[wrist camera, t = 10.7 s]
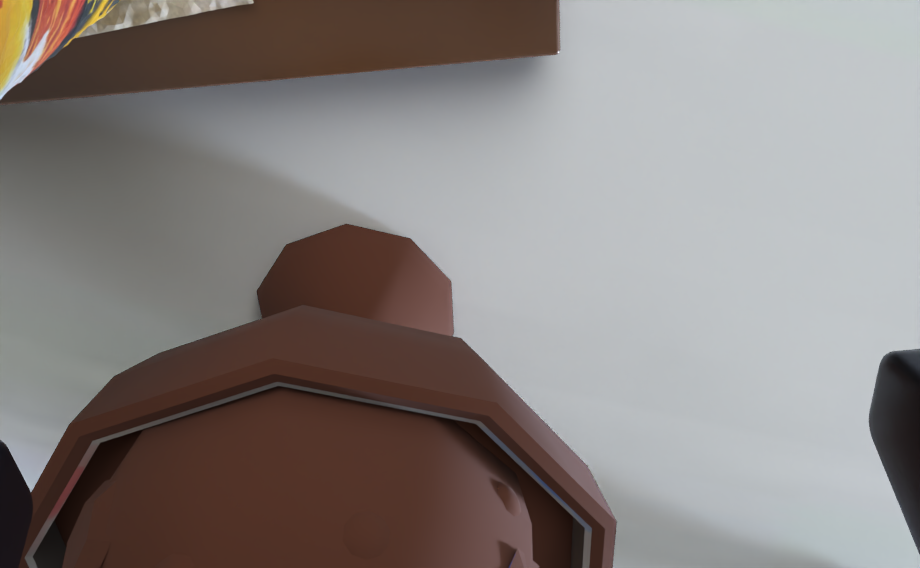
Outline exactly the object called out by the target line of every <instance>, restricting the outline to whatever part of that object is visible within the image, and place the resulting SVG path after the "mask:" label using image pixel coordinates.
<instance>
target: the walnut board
mask: <svg viewBox="0 0 920 568" xmlns="http://www.w3.org/2000/svg"><path fill="white" fill-rule="evenodd" d="M253 2H254V3H252V4H245V5H238V6H232V7H227V8H222V9H216V10H212V11H206V12H201V13H197V14H193V15H189V16H183V17H177V18H172V19H166V20H162V21H157V22H152V23H148V24H143V25H138V26H132V27H128V28H123V29H119V30H114V31H109V32H104V33H99V34H93V35H88V36H84V37H79V38H74V39H72V40H71V42H70V43H69V44H68V45H67V46H65V47H63V48H62V49H61V50H60V51H59V52H58V53H57V54H56V55H55V56H54V57H52V58H50V59H48V60H46V61H45V62H44V63H43V64H42V65H41V66H40V67H39V68H38V70H37V71H35V72H33V73H32V74H30V75H28V76H27V77H26V78H25V79H24V80H23V81H22V82H21V83H18V84H17V85H15V86H14V87H12V88H11V89H10V90H9V91H8V92H7V93H6V94H5V95H4V96H3V97H2V99H1V100H0V105H6V104H17V103H28V102H40V101H51V100H62V99H73V98H84V97H95V96H106V95H117V94H128V93H139V92H150V91H161V90H172V89H183V88H194V87H205V86H216V85H227V84H238V83H249V82H260V81H271V80H282V79H293V78H304V77H315V76H326V75H337V74H349V73H360V72H371V71H382V70H393V69H404V68H415V67H426V66H437V65H448V64H459V63H470V62H481V61H492V60H503V59H514V58H525V57H536V56H547V55H556V54H559V52H560V10H559V0H253Z"/></svg>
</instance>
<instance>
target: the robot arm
mask: <svg viewBox="0 0 920 568" xmlns="http://www.w3.org/2000/svg"><path fill="white" fill-rule="evenodd" d="M869 427H870V432H871V436H872V439H873V442H874V444H875V447H876V449H877V451H878V454H879V456H880V459H881V461H882V464H883V466H884V469H885V471H886V473H887V476H888V478H889V481H890V483H891V486H892V488H893V491H894V493H895V495H896V498H897V500H898V503H899V505H900V508H901V510H902V513H903V515H904V517H905V520H906V522H907V525H908V527H909V530H910V532H911V535H912V537H913V540H914V542H915V544H916V547H917V549H918V552H919V554H920V349H913V350H903V351H893V352H890V353H888V354H886V355H885V356H884V357H883V359H882V360H881V363H880V366H879V370H878V375H877V379H876V384H875V389H874V394H873V398H872V403H871V408H870V413H869ZM32 515H33V500H32V495H31V492H30V490H29V488H28V486H27V484H26V482H25V480H24V478H23V476H22V474H21V472H20V470H19V468H18V467H17V465H16V463H15V461H14V459H13V457H12V455H11V453H10V451H9V449H8V447H7V446H6V444H5V443H3V442H2V441H1V440H0V568H19V564H20V561H21V557H22V553H23V550H24V546H25V542H26V538H27V535H28V531H29V527H30V523H31V520H32Z"/></svg>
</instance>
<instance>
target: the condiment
mask: <svg viewBox="0 0 920 568" xmlns="http://www.w3.org/2000/svg"><path fill="white" fill-rule="evenodd" d="M252 3H254V2H253V0H0V100H1V99H2V97H3V96H4V95H5V94H6V93H7V92H8V91H9V90H10V89H11V88H12V87H14V86H15V85H17V84H18V83H21V82H22V81H23V80H24V79H25V78H26V77H27V76H28V75H30V74H32V73H33V72H35V71H37V70H38V68H39V67H40V66H41V65H42V64H43V63H44V62H45V61H46V60H48V59H50V58H52V57H54V56H55V55H56V54H57V53H58V52H59V51H60V50H61V49H62V48H63V47H65V46H67V45H68V44H69V43H70V42H71V40H72V39H74V38H79V37H84V36H88V35H93V34H99V33H104V32H109V31H114V30H119V29H123V28H128V27H132V26H138V25H143V24H148V23H152V22H157V21H162V20H166V19H172V18H177V17H183V16H189V15H193V14H197V13H201V12H206V11H212V10H216V9H222V8H227V7H232V6H238V5H245V4H252Z"/></svg>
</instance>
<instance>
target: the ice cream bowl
mask: <svg viewBox="0 0 920 568" xmlns="http://www.w3.org/2000/svg"><path fill="white" fill-rule="evenodd" d="M257 295H258V300H259V305H260V310H261V315H262V319H260V320H257V321H254V322H251V323H248V324H245V325H242V326H239V327H236V328H233V329H230V330H227V331H224V332H221V333H218V334H215V335H212V336H209V337H206V338H203V339H200V340H197V341H194V342H191V343H188V344H185V345H182V346H179V347H176V348H173V349H170V350H167V351H164V352H161V353H158V354H156V355H154V356H152V357H150V358H149V359H147V360H145V361H143V362H141V363H139V364H137V365H135V366H133V367H131V368H129V369H127V370H125V371H123V372H122V373H120V374H118V375H116V376H114V377H113V378H112V379H111V380H110V381H109V382H108V383H107V384H106V385H105V387H104V388H103V389H102V390H101V391H100V392H99V393H98V394H97V395H96V396H95V397H94V398H93V399H92V401H91V402H90V403H89V404H88V405H87V406H86V407H85V408H84V409H83V410H82V411H81V412H80V413H79V414H78V416H77V417H76V418H75V419H74V420H73V421H72V422H71V423H70V424H69V426H68V428H67V429H66V431H65V433H64V435H63V437H62V438H61V440H60V442H59V444H58V446H57V447H56V449H55V451H54V453H53V455H52V456H51V458H50V460H49V462H48V464H47V465H46V467H45V469H44V471H43V472H42V474H41V476H40V478H39V480H38V481H37V483H36V485H35V487H34V489H33V490H32V492H31V495H32V500H33V515H32V520H31V523H30V527H29V531H28V535H27V538H26V542H25V546H24V550H23V553H22V557H21V561H20V564H19V568H612V567H613V556H614V545H615V534H616V523H617V521H616V519H615V518H614V516H613V514H612V512H611V510H610V508H609V506H608V504H607V502H606V500H605V499H604V497H603V495H602V493H601V491H600V489H599V487H598V485H597V483H596V481H595V480H594V478H593V476H592V474H591V472H590V470H589V468H588V466H587V465H586V464H585V463H584V462H583V461H582V460H581V459H580V458H579V457H578V456H577V455H576V454H575V453H574V452H573V451H572V450H571V449H570V448H569V447H568V446H567V445H566V444H565V443H564V442H563V441H562V440H561V439H560V438H559V437H558V436H557V435H556V434H555V433H554V432H553V431H552V430H551V428H550V427H549V426H548V425H547V424H546V423H545V422H544V421H543V420H542V419H541V418H540V417H539V416H538V415H537V414H536V413H535V412H534V411H533V410H532V409H531V408H530V407H529V406H528V405H527V404H526V403H525V402H524V401H523V400H522V399H521V398H520V397H519V396H518V395H517V394H516V393H515V392H514V391H513V390H512V389H511V388H510V387H509V386H508V385H507V384H506V383H505V382H504V381H503V380H502V379H501V378H500V377H499V376H498V375H497V374H496V373H495V372H494V371H493V370H492V369H491V367H490V366H489V365H488V364H487V363H486V362H485V361H484V360H483V359H482V358H481V357H480V356H479V355H478V354H477V353H475V352H474V351H473V350H472V349H471V348H470V347H469V346H468V345H467V344H466V343H465V342H464V341H463V340H462V339H461V338H457V337H453V336H452V335H453V333H454V329H453V309H452V289H451V281H450V280H449V279H448V278H447V277H446V276H445V274H444V273H443V272H442V271H441V270H440V269H439V268H438V267H437V266H436V265H435V264H434V263H433V262H432V261H431V260H430V259H429V258H428V257H427V255H426V254H425V253H424V252H423V251H422V250H421V249H420V248H419V247H418V246H417V245H416V244H415V243H414V242H413V241H412V240H411V239H410V238H406V237H401V236H397V235H393V234H388V233H384V232H380V231H375V230H371V229H367V228H362V227H358V226H354V225H349V224H344V225H341V226H339V227H336V228H333V229H330V230H327V231H324V232H321V233H318V234H316V235H313V236H310V237H307V238H304V239H301V240H298V241H295V242H293V243H290V244H287V245H286V246H285V247H284V249H283V251H282V252H281V254H280V255H279V257H278V258H277V260H276V262H275V263H274V265H273V266H272V268H271V269H270V271H269V273H268V274H267V276H266V277H265V279H264V280H263V282H262V283H261V285H260V287H259V288H258V290H257Z"/></svg>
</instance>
